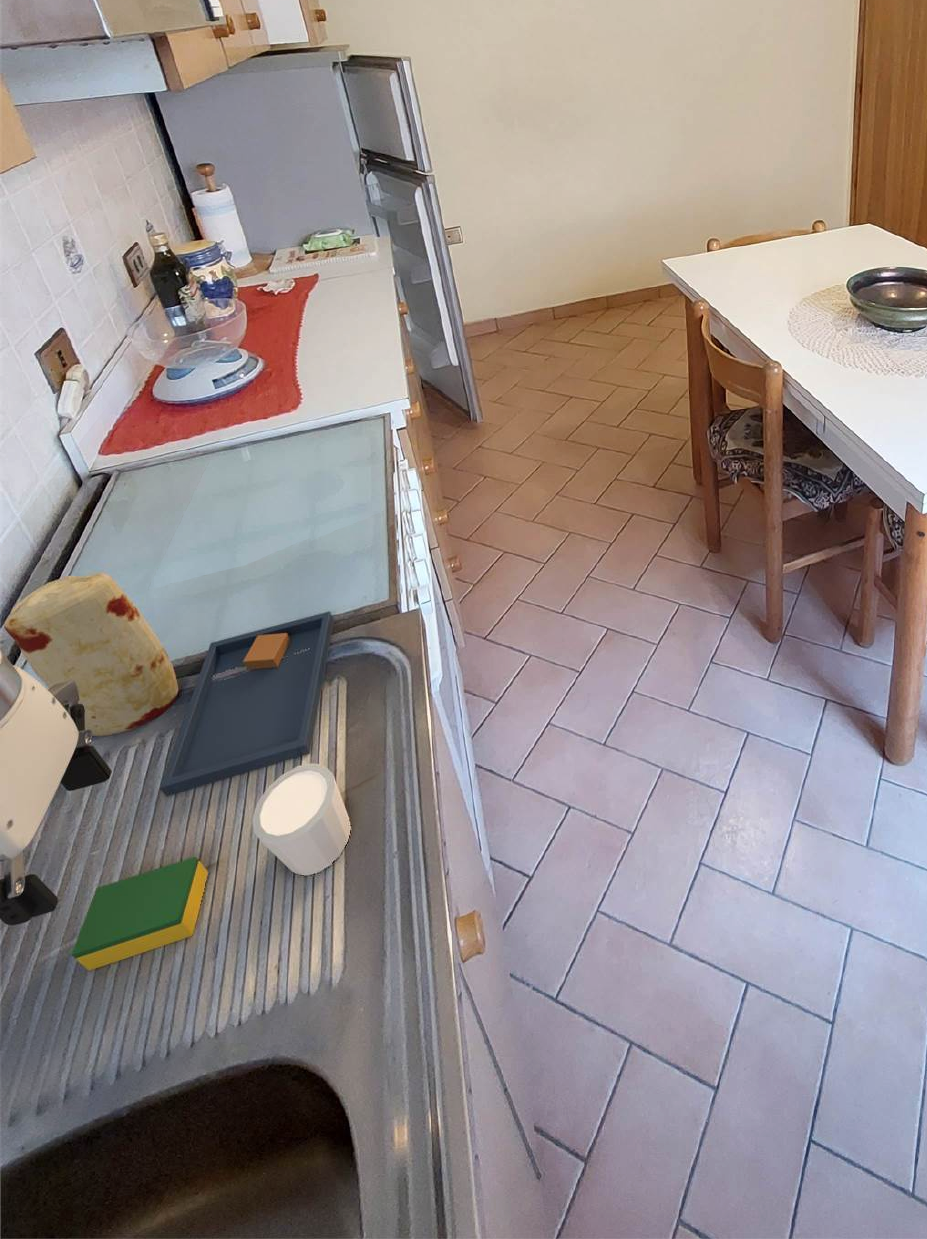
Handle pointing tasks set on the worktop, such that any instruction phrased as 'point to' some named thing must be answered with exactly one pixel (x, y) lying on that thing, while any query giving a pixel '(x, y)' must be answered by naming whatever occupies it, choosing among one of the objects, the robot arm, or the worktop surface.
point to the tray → (251, 708)
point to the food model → (96, 651)
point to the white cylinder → (303, 819)
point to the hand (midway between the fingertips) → (64, 842)
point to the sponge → (141, 913)
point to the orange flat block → (267, 651)
